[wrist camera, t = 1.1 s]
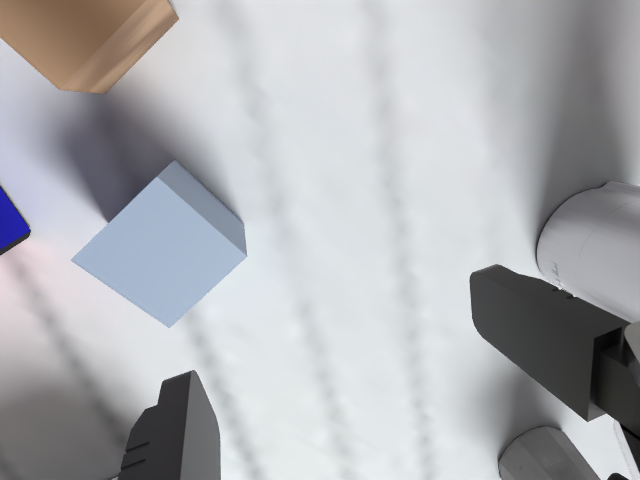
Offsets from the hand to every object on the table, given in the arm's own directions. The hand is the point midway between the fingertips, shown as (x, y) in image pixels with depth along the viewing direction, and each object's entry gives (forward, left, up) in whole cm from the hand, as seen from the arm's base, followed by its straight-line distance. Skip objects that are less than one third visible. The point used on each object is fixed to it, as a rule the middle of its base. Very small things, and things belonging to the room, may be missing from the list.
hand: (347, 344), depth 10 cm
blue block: (+6, -4, -17) cm, 18 cm away
